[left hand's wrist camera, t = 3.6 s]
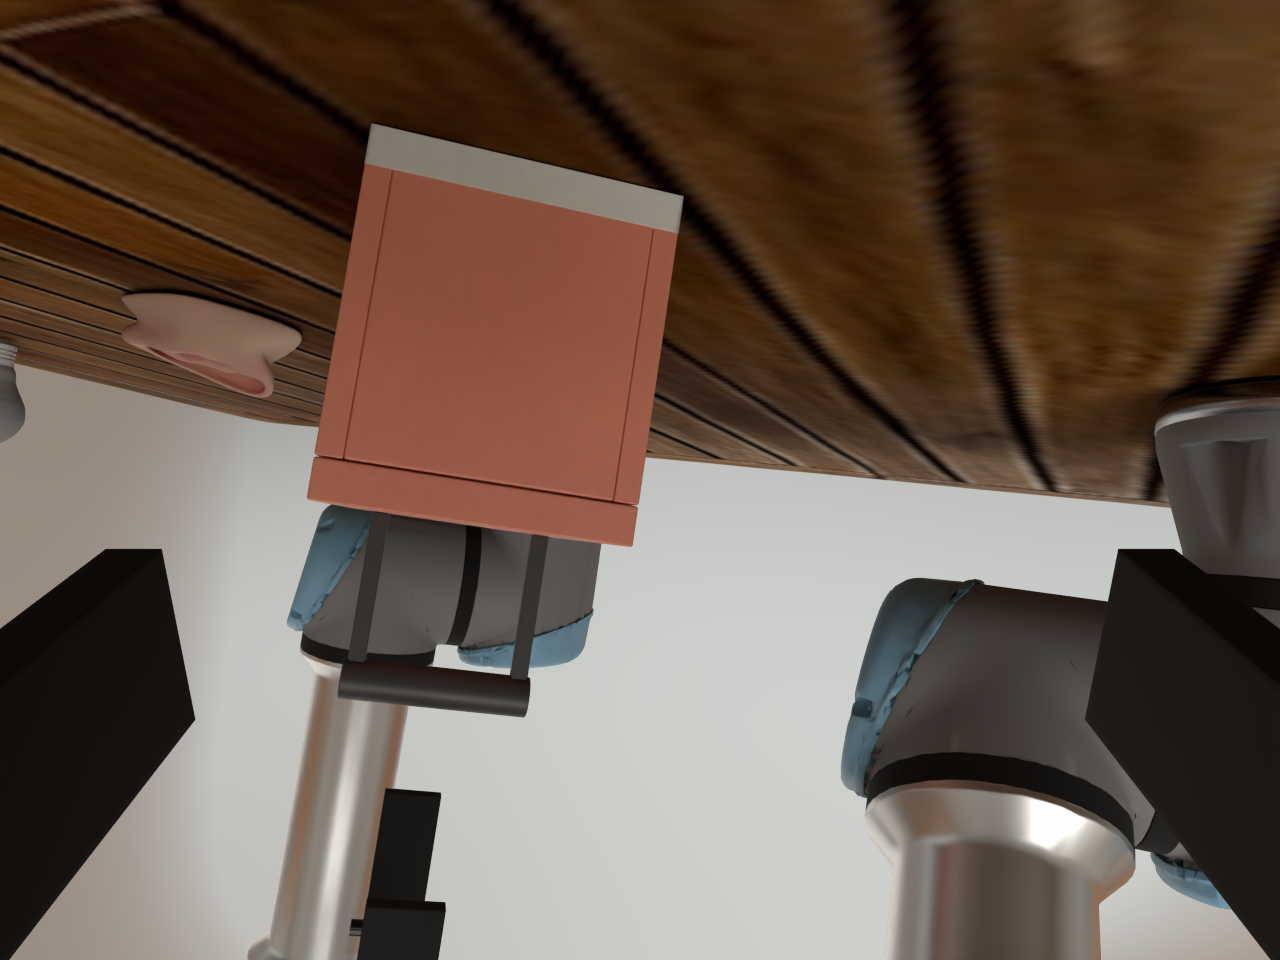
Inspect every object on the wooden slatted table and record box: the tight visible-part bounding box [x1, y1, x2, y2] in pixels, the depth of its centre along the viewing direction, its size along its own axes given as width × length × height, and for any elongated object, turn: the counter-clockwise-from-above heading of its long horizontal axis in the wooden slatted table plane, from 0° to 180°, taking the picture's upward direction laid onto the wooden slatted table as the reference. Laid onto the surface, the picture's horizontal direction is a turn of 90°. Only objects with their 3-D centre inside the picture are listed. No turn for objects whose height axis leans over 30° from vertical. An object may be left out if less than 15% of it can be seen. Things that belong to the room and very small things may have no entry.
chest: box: [315, 123, 684, 506], centre depth 35 cm, size 15×10×10 cm
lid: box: [307, 457, 638, 717], centre depth 35 cm, size 15×10×9 cm, turn 167°
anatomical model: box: [122, 293, 302, 397], centre depth 61 cm, size 13×4×12 cm
